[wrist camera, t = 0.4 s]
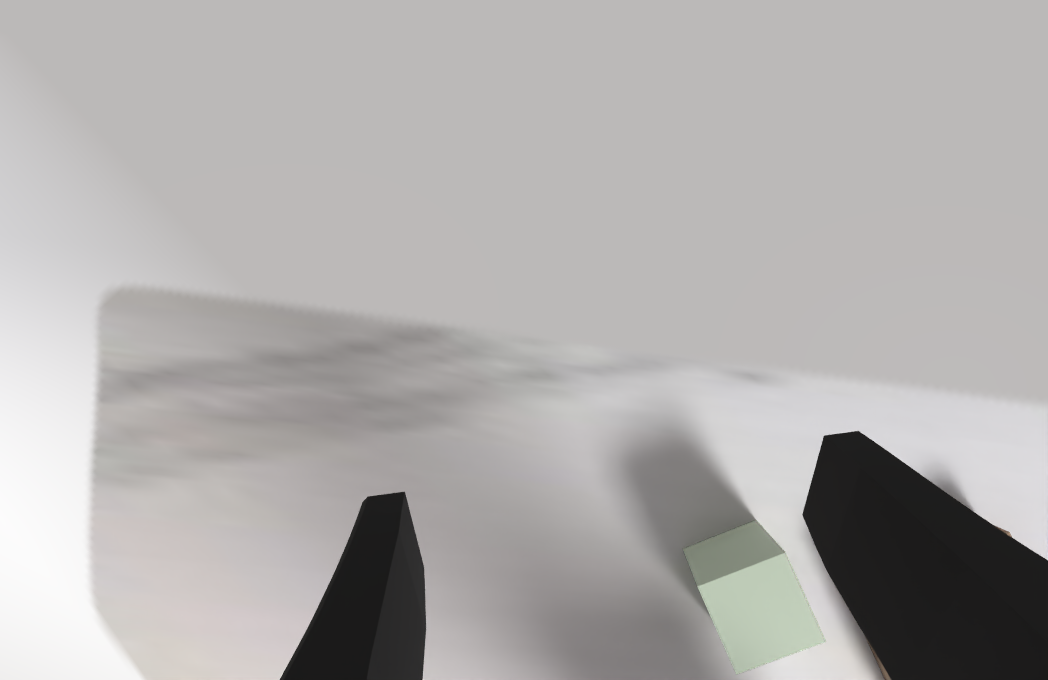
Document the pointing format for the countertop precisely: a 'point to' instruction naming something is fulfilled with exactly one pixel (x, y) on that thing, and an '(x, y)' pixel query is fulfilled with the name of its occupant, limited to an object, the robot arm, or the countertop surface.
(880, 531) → the robot arm
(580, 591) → the countertop surface
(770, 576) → the sage block
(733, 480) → the countertop surface
